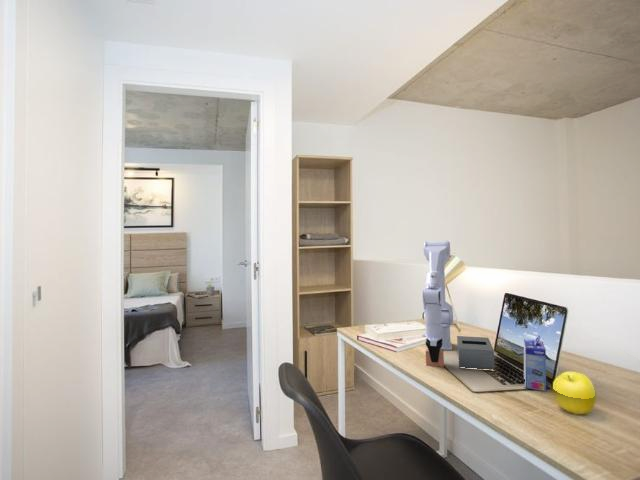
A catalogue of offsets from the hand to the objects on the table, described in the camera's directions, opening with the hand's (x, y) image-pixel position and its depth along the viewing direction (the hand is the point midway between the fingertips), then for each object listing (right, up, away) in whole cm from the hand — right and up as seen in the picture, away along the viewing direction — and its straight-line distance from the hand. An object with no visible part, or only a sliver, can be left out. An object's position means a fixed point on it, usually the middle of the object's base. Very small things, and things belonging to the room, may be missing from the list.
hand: (434, 360), depth 124 cm
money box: (+15, -1, +1) cm, 15 cm away
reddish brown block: (0, -2, 0) cm, 2 cm away
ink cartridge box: (+24, -1, -19) cm, 31 cm away
